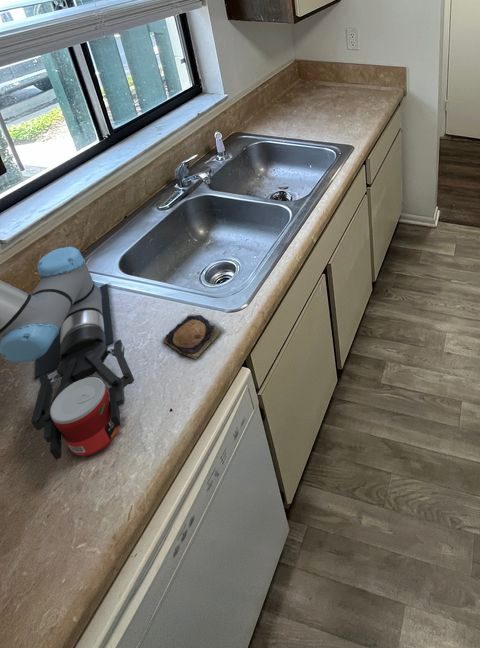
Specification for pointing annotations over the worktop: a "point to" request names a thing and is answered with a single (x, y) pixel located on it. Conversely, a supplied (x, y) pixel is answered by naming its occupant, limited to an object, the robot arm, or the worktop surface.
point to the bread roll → (192, 336)
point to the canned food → (84, 416)
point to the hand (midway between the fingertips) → (86, 437)
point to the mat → (52, 356)
